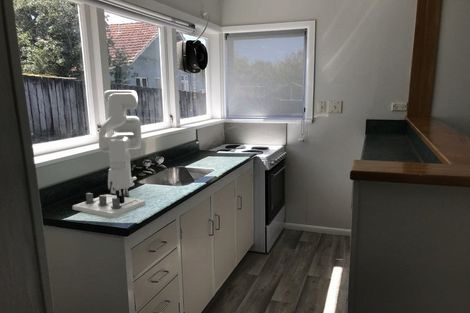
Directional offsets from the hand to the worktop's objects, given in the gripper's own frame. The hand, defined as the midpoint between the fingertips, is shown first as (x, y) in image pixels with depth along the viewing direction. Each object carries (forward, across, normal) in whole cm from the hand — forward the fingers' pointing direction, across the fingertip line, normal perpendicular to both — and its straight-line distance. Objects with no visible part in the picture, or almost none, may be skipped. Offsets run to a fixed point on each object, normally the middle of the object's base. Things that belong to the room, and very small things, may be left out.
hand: (120, 202), depth 175 cm
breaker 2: (+1, +3, -9) cm, 9 cm away
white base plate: (+4, -1, -9) cm, 10 cm away
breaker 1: (+1, +2, -18) cm, 18 cm away
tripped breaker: (+1, +3, 0) cm, 3 cm away
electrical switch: (+4, -20, -18) cm, 27 cm away
